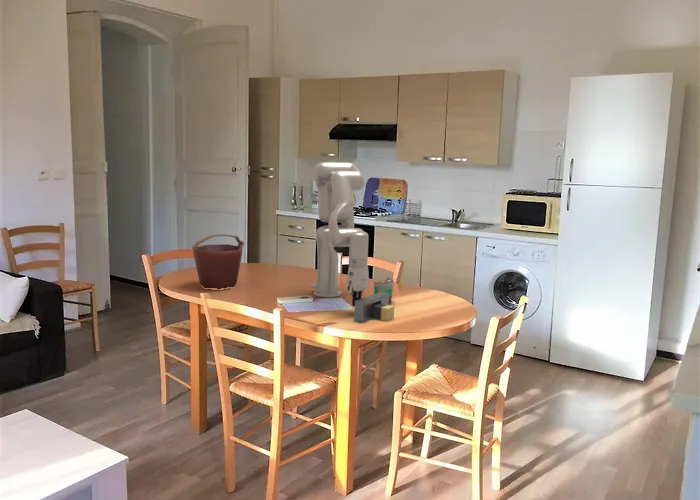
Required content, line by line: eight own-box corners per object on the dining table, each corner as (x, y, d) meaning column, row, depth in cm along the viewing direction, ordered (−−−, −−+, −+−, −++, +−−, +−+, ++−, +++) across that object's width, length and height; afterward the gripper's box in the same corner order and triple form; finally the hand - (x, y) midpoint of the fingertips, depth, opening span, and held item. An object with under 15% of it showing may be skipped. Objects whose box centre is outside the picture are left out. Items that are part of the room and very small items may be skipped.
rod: (357, 315, 249) (357, 303, 248) (363, 312, 253) (364, 300, 252) (387, 321, 242) (388, 308, 241) (393, 318, 246) (394, 306, 245)
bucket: (243, 280, 307) (242, 231, 302) (248, 291, 286) (248, 237, 281) (192, 282, 300) (191, 231, 296) (193, 293, 279) (192, 238, 275)
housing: (354, 320, 241) (354, 300, 239) (380, 310, 257) (380, 291, 256) (363, 322, 239) (363, 302, 237) (388, 311, 255) (389, 292, 254)
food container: (385, 307, 263) (386, 284, 261) (372, 304, 266) (373, 282, 264) (398, 301, 273) (399, 279, 271) (386, 299, 276) (387, 277, 275)
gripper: (356, 266, 240) (354, 312, 244) (375, 260, 253) (373, 304, 256) (340, 263, 244) (338, 308, 248) (360, 258, 257) (358, 300, 260)
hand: (356, 306), depth 252 cm, fingers closed
